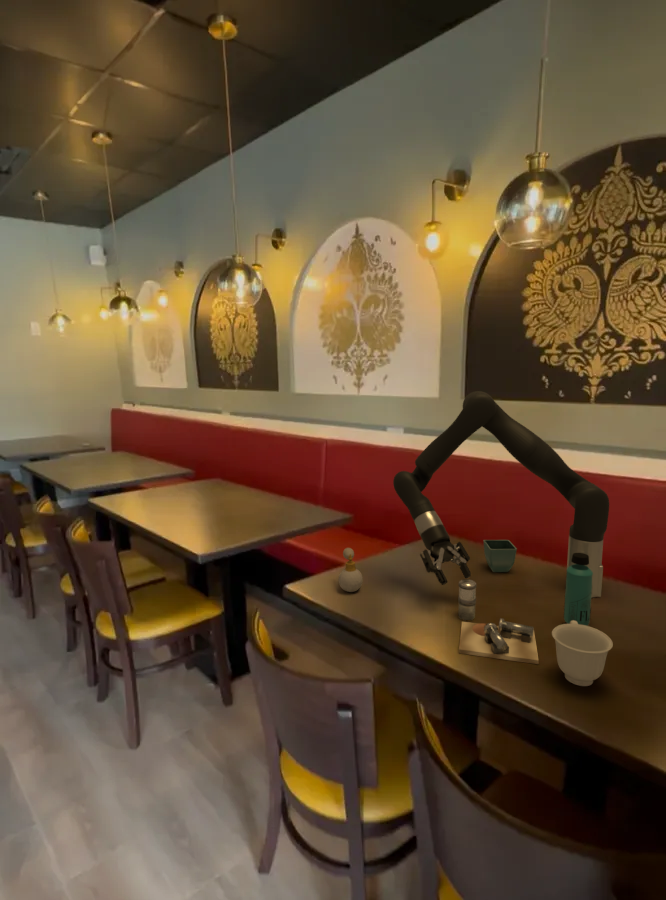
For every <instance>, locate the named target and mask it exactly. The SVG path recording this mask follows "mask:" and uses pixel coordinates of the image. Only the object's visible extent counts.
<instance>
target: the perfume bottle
mask: <svg viewBox="0 0 666 900" xmlns="http://www.w3.org/2000/svg"><path fill="white" fill-rule="evenodd" d="M342 555H343V558H344V559H346V560H347V561H346V562H345V568H343V570H341V571H340V573H339V575H338V585H339V586H340V588H341V589H342V590H343V591H345V592H347V593H353V592H356V591H358V590H360V588H361V587H362V585H363V580H364V579H363V574H362V573H361V571H360V570H359V569H357V568H356V562H355V561H353V559H354V557H355V552H354V550H353V549H352V548H351V547H346V548H344V550H343V552H342Z"/></svg>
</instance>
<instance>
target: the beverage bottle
mask: <svg viewBox="0 0 666 900" xmlns="http://www.w3.org/2000/svg"><path fill="white" fill-rule="evenodd" d="M571 561H572V562H573V563H574V564H573V565H571V566H569V567H568V568H567V567H566V577H565V578H566V580H565V592H564V601H563V602H564V606H563V619H564V620H563V621H564V622H565V623H566V624H570V622H571V621H573V620H574V621H577V623H578V624H580V625H586V626H590V625H589V624H590V623H591V622H590V621H591V615H592V606H591V605H592V598H591V595H592V588H593V587H592V584H593V583H592V576H593V572H592V571H591V569H590V568H588V567H587V566H585V565H588V564H589V556H588V555H587V554H584V553H573V555H572V560H571Z"/></svg>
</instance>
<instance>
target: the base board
mask: <svg viewBox="0 0 666 900" xmlns="http://www.w3.org/2000/svg"><path fill="white" fill-rule="evenodd" d="M486 624H487V623H478V622H477V623H476V622H469V621H461V628H460V636H459V637H460V638H459V647H458V653H459V654H464V655H470V656H475V657H477V656H478V657H484V658H490V659H498V660H499V659H500V660H505V661H512V662H518V663H519V662H520V663H528V664H536V665H539V656H538V655H539V654H538V649H537V648H538V647H537V642H536V636H535V630H533V637H531V639H530V643H527V642H522V641H521V634H516V633H512V636H511V639H508V638H504V637H502V638H503V639H504V640H505V642H506V643H507V645H508V646H509V653H504V654H494V653H493V652H492V650H491V644H487V643H486V641H485V640H484V639H485V632H484V627H485V625H486ZM496 626H497V627H498V629H499V625H496ZM498 632H499V630H498ZM499 633H500V635H501V636H502V632H499Z"/></svg>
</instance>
